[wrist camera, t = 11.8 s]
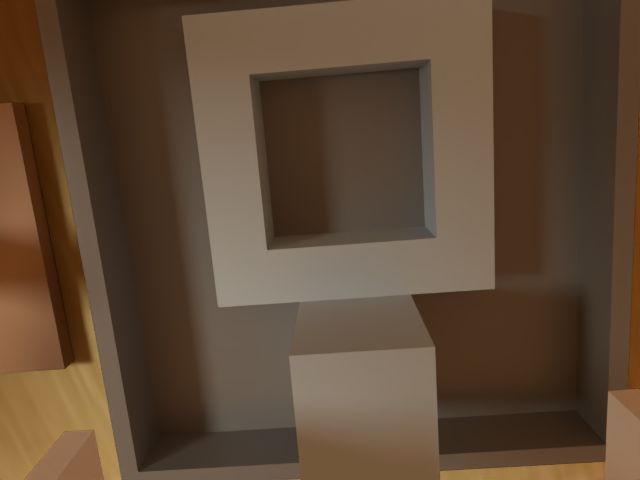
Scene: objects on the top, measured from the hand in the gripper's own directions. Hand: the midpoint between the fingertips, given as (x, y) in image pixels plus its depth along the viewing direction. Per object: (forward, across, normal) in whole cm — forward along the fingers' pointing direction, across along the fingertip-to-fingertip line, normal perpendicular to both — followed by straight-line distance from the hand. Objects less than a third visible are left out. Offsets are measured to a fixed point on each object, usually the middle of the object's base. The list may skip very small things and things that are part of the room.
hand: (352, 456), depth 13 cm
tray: (+9, +1, +5) cm, 10 cm away
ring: (+8, +1, +5) cm, 10 cm away
